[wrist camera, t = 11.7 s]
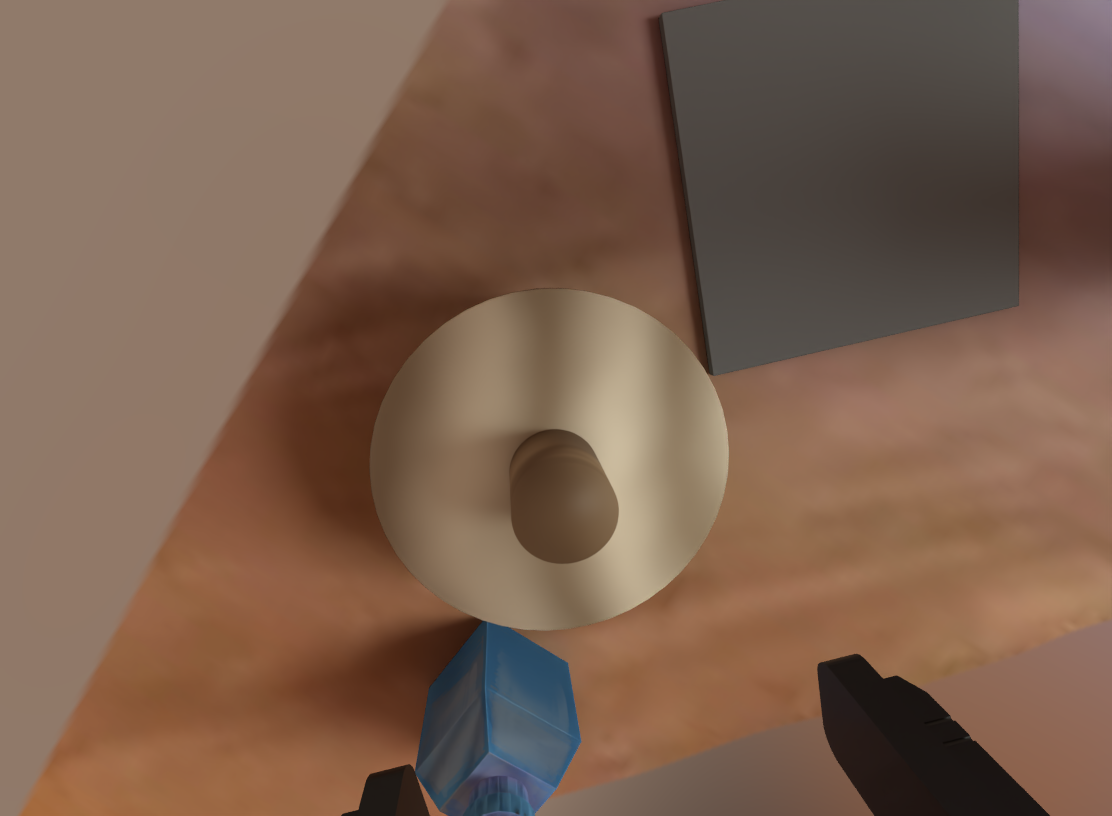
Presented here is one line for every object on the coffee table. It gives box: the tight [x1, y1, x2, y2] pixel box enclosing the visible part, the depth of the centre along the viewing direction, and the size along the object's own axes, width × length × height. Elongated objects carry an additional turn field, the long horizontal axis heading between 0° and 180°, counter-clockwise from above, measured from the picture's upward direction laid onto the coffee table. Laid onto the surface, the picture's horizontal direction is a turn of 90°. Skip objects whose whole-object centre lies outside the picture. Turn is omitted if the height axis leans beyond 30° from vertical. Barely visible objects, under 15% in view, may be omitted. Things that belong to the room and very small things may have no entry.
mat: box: [659, 0, 1019, 376], centre depth 30 cm, size 18×18×1 cm
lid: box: [370, 288, 729, 630], centre depth 24 cm, size 16×16×6 cm
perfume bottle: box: [415, 621, 581, 816], centre depth 30 cm, size 6×6×12 cm
